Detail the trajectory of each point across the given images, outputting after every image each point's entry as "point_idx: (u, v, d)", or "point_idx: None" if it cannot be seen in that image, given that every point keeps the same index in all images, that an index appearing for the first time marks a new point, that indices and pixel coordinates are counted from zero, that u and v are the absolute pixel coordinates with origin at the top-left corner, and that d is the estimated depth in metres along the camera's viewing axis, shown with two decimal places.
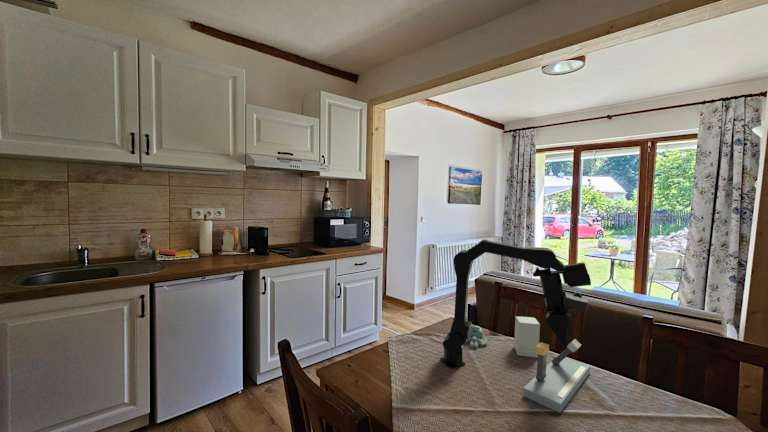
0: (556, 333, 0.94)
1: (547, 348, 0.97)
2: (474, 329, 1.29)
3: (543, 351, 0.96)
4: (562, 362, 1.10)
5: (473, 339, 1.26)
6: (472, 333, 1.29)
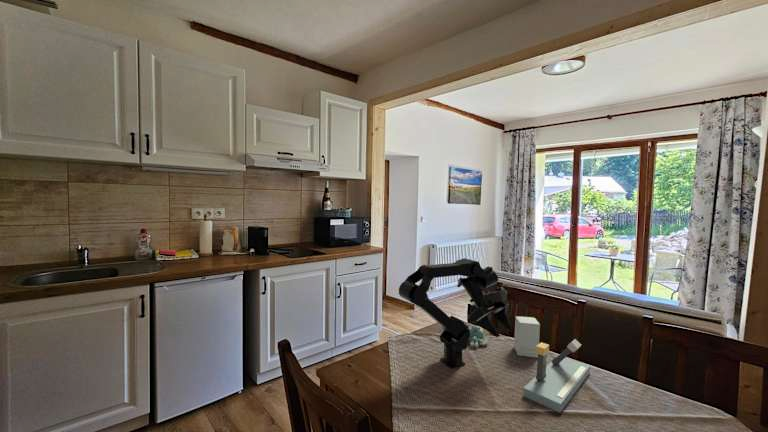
0: (485, 328, 1.05)
1: (547, 348, 0.97)
2: (475, 329, 1.29)
3: (543, 351, 0.96)
4: (562, 362, 1.10)
5: (473, 339, 1.26)
6: (473, 333, 1.29)
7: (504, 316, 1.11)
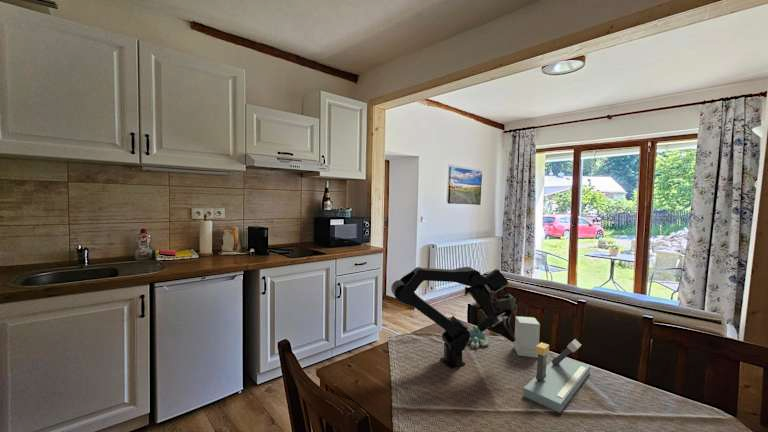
0: (501, 333, 1.06)
1: (547, 348, 0.97)
2: (476, 329, 1.29)
3: (543, 351, 0.96)
4: (562, 362, 1.10)
5: (474, 339, 1.25)
6: (474, 333, 1.29)
7: None
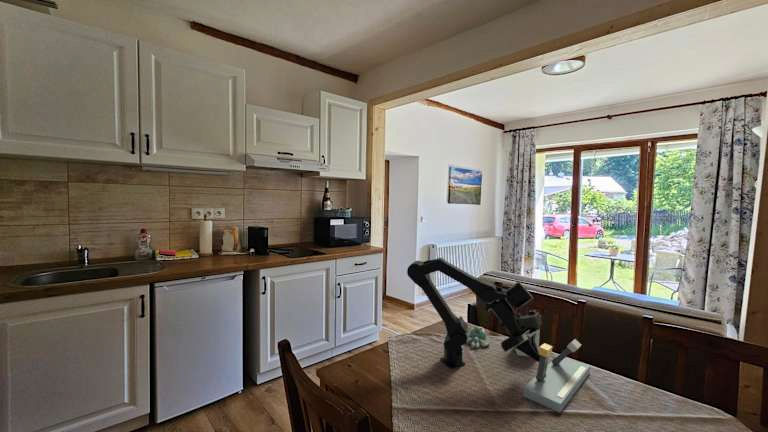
0: (526, 352, 1.00)
1: (550, 350, 0.97)
2: (476, 330, 1.29)
3: (546, 352, 0.95)
4: (562, 362, 1.10)
5: (475, 340, 1.25)
6: (474, 334, 1.28)
7: None
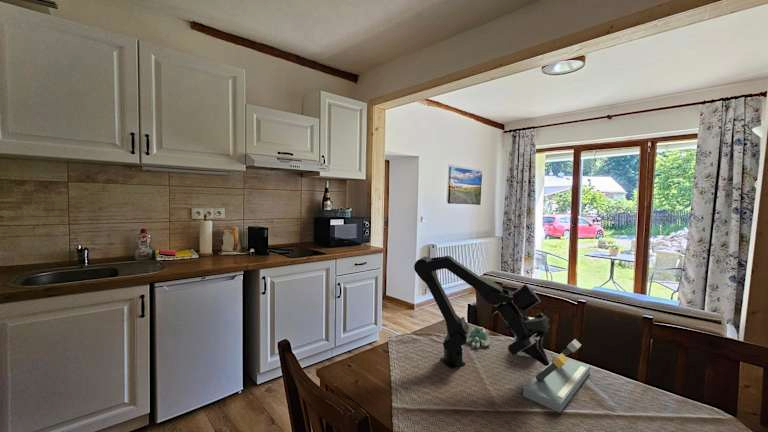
0: (533, 356, 0.98)
1: (565, 362, 0.94)
2: (477, 330, 1.28)
3: (561, 365, 0.92)
4: None
5: (475, 340, 1.25)
6: (475, 334, 1.28)
7: (540, 349, 0.99)
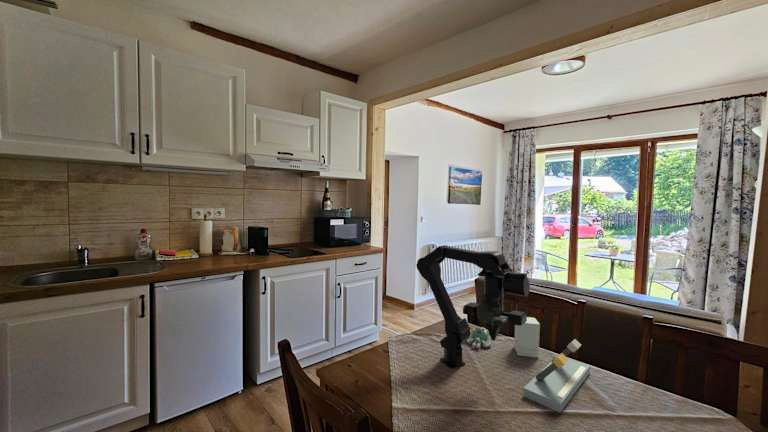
0: None
1: (565, 362, 0.94)
2: (478, 330, 1.28)
3: (561, 365, 0.92)
4: None
5: (476, 340, 1.25)
6: (476, 334, 1.28)
7: None
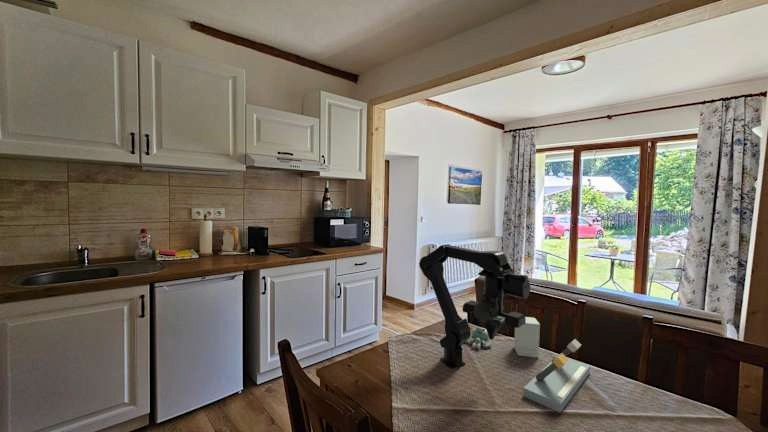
0: None
1: (565, 362, 0.94)
2: (479, 330, 1.28)
3: (561, 365, 0.92)
4: None
5: (476, 340, 1.25)
6: (476, 334, 1.28)
7: None
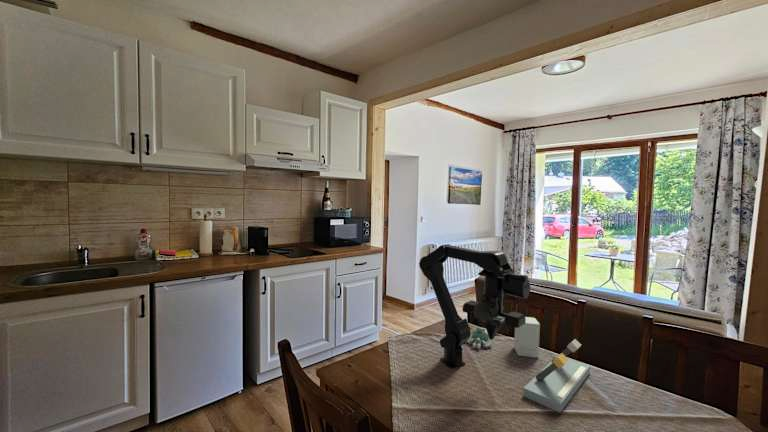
0: None
1: (565, 362, 0.94)
2: (479, 330, 1.28)
3: (561, 365, 0.92)
4: None
5: (476, 340, 1.25)
6: (477, 334, 1.28)
7: None
